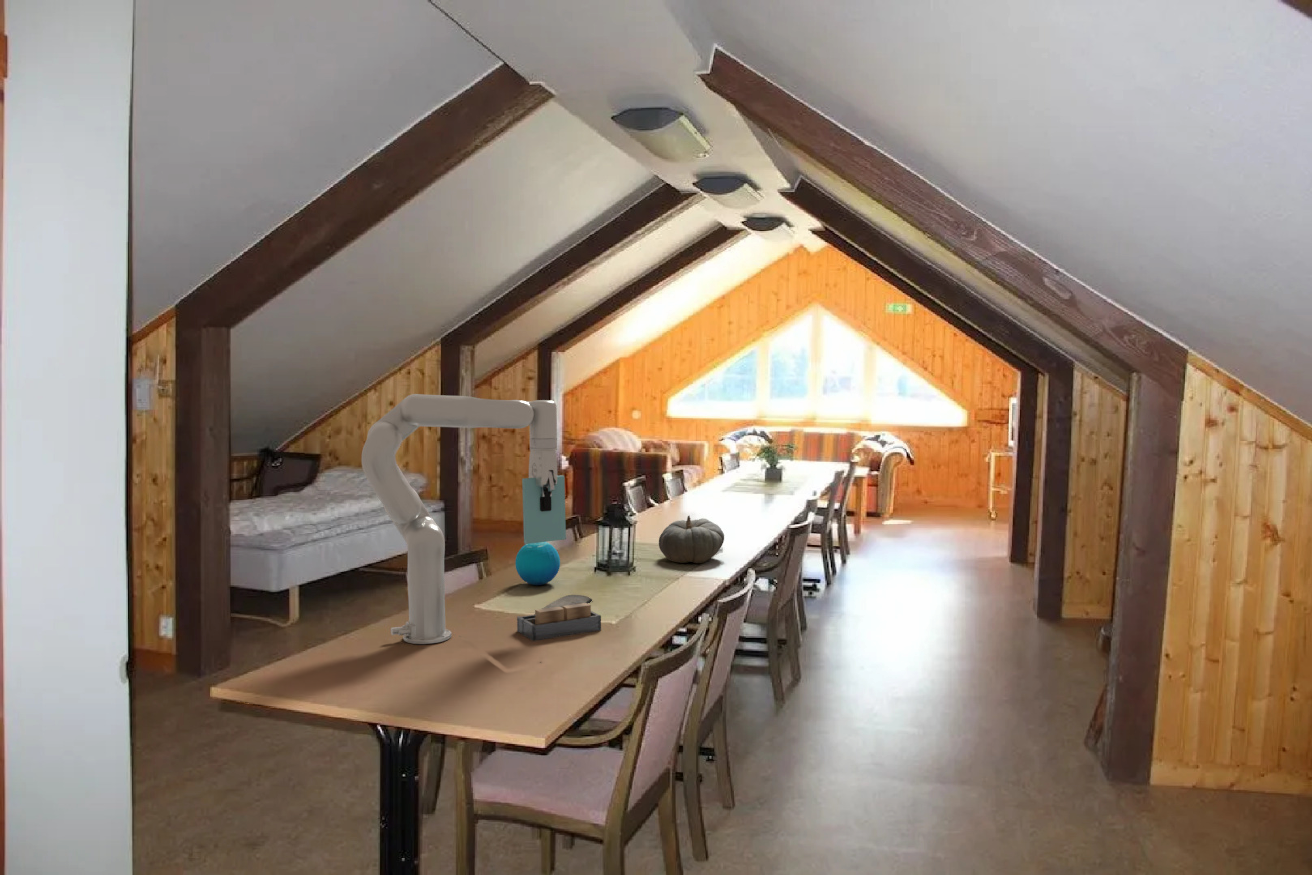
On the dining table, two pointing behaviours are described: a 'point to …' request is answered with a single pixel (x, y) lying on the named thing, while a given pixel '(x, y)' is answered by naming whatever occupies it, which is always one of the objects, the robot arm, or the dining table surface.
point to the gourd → (691, 540)
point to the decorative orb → (537, 563)
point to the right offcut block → (577, 611)
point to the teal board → (543, 513)
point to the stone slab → (569, 601)
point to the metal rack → (557, 627)
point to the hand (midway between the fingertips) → (544, 510)
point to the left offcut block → (549, 615)
